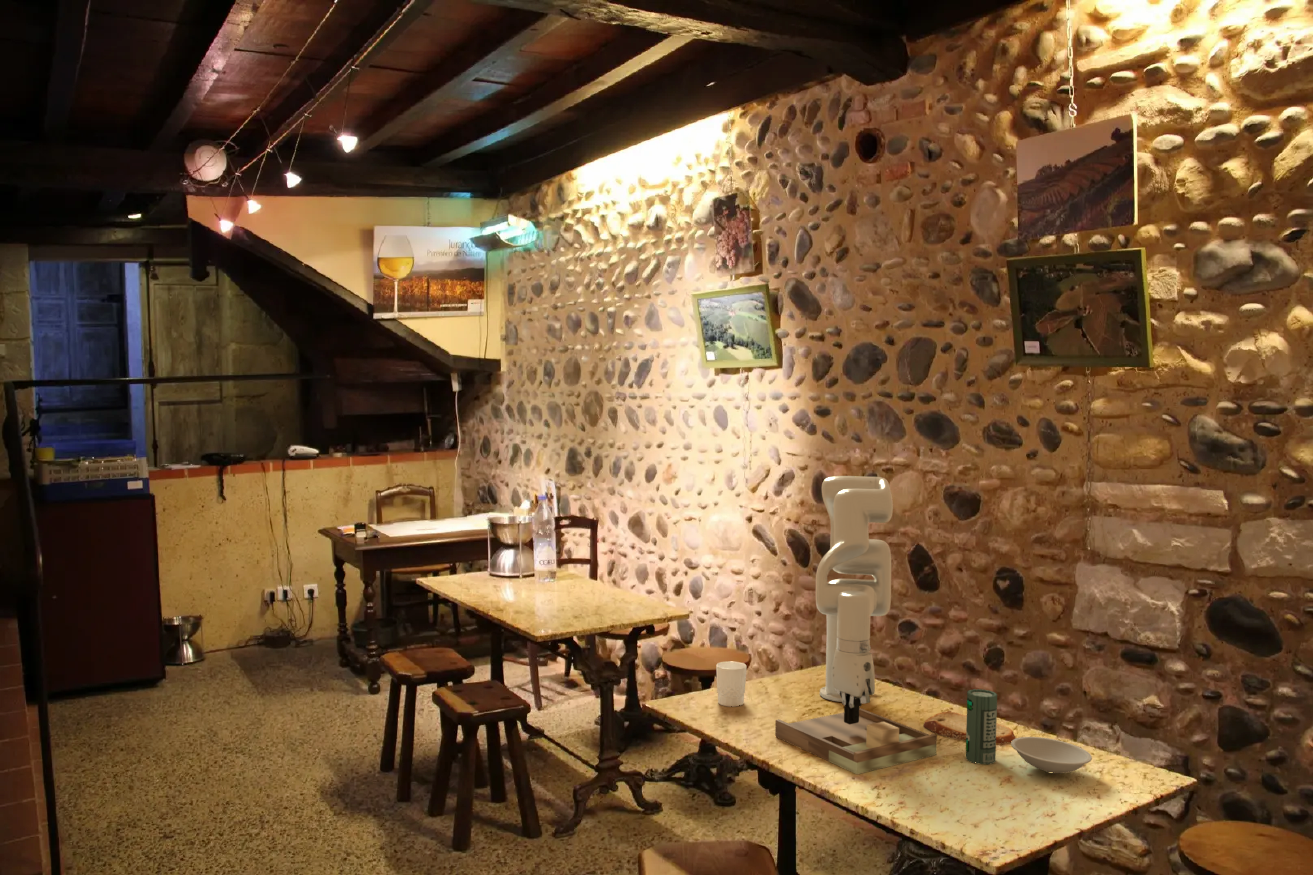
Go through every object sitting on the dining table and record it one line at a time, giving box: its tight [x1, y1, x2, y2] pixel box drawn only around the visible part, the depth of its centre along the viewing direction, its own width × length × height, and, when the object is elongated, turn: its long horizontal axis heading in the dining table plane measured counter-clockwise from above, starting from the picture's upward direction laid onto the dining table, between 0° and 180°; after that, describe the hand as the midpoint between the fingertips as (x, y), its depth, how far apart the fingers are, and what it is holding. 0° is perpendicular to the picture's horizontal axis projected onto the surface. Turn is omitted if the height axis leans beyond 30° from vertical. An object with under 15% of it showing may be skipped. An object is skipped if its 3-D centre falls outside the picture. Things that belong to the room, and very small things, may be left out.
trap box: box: [774, 707, 938, 775], centre depth 242 cm, size 24×28×4 cm
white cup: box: [715, 660, 747, 707], centre depth 274 cm, size 8×8×10 cm
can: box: [965, 688, 998, 765], centre depth 234 cm, size 6×6×15 cm
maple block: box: [866, 722, 899, 748], centre depth 233 cm, size 5×5×5 cm
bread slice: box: [923, 710, 1017, 745], centre depth 253 cm, size 18×18×4 cm
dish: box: [1010, 736, 1093, 774], centre depth 227 cm, size 18×14×5 cm
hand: (851, 722), depth 243 cm, fingers closed
